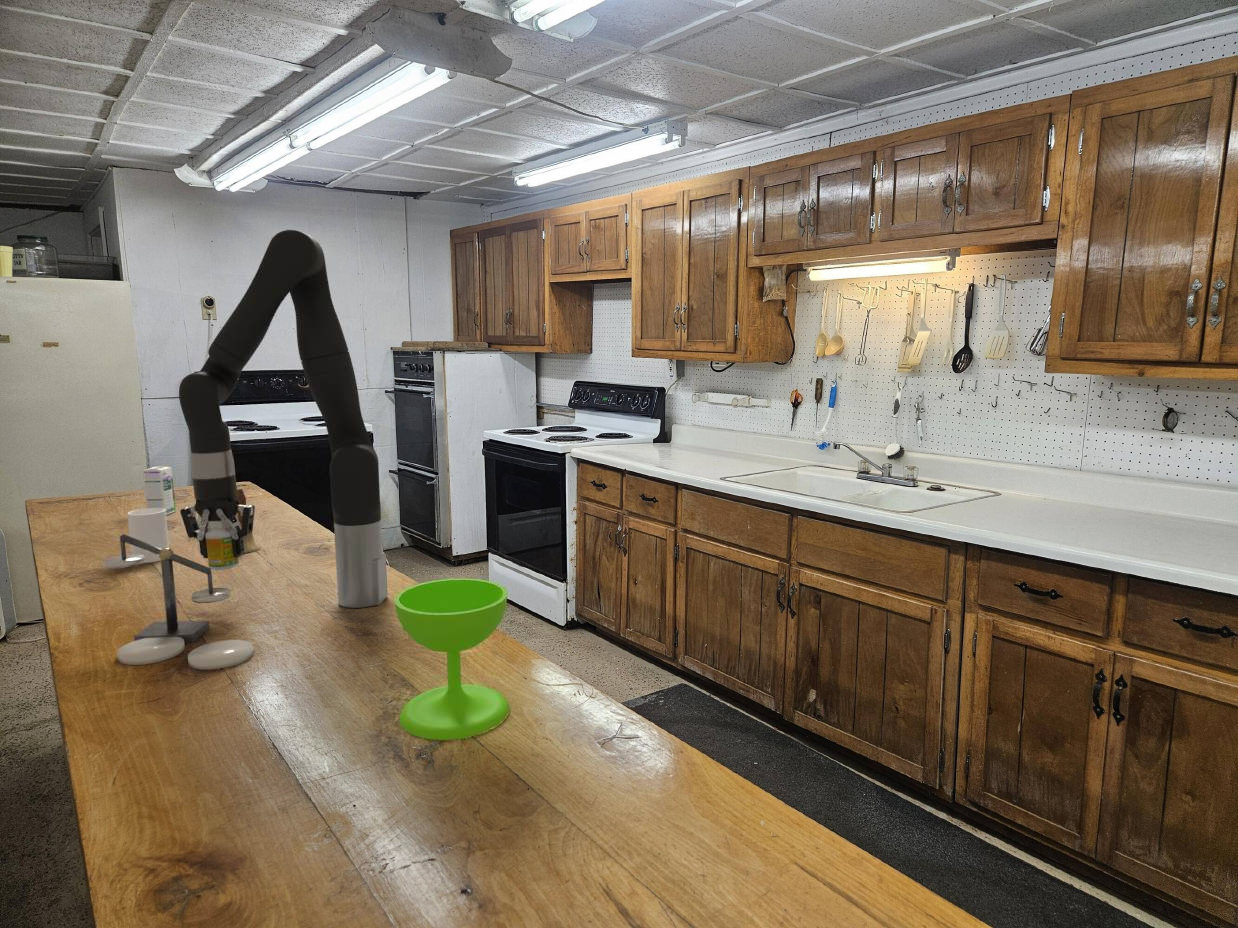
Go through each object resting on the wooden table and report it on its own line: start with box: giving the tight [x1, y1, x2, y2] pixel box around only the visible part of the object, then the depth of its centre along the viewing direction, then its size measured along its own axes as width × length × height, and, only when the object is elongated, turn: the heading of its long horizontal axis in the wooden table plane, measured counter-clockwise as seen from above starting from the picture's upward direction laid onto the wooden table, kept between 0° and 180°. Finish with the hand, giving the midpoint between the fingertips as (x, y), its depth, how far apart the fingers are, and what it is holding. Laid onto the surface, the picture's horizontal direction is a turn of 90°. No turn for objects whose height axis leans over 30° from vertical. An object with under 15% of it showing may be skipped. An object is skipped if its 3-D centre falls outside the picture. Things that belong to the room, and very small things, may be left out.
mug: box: [127, 507, 170, 564], centre depth 194 cm, size 12×8×12 cm
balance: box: [102, 533, 232, 644], centre depth 142 cm, size 21×7×19 cm, turn 95°
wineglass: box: [393, 577, 511, 741], centre depth 113 cm, size 16×16×18 cm
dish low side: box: [187, 639, 254, 671], centre depth 134 cm, size 10×10×1 cm
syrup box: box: [142, 465, 177, 516], centre depth 240 cm, size 6×6×14 cm
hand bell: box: [237, 488, 262, 554], centre depth 200 cm, size 8×8×16 cm
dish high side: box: [117, 636, 186, 666], centre depth 136 cm, size 10×10×1 cm
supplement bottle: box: [206, 521, 239, 571], centre depth 156 cm, size 5×5×10 cm
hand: (222, 556), depth 156 cm, fingers closed on supplement bottle, 5 cm apart
